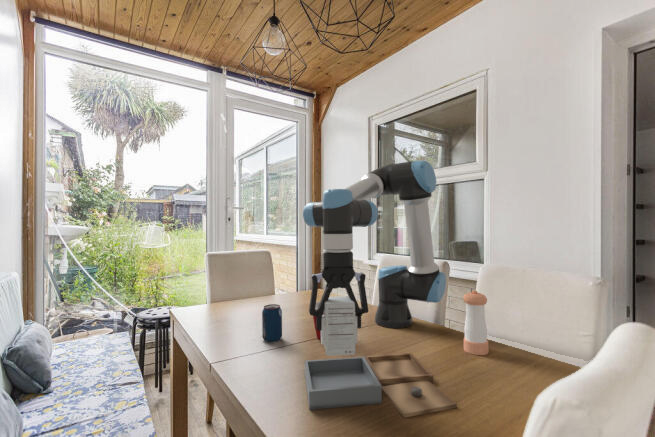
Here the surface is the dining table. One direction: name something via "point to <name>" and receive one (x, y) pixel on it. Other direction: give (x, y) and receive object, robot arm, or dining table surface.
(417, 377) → the walnut tray
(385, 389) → the tray lid
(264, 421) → the dining table surface
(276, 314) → the soda can
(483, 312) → the pepper shaker
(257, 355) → the dining table surface
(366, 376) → the gray square tray
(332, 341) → the supplement box
